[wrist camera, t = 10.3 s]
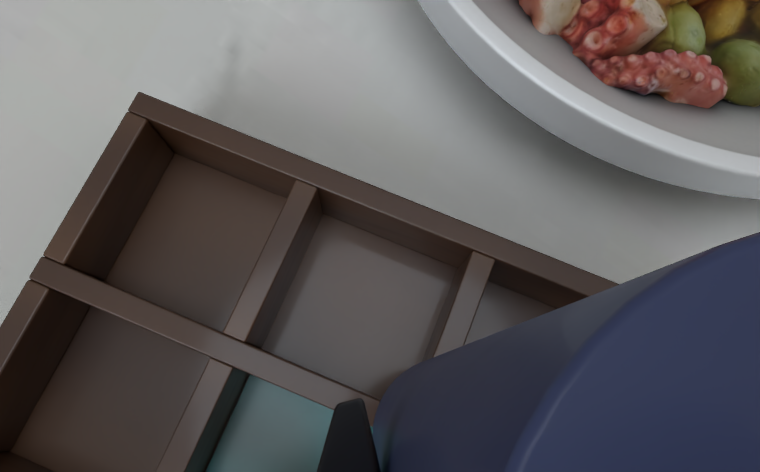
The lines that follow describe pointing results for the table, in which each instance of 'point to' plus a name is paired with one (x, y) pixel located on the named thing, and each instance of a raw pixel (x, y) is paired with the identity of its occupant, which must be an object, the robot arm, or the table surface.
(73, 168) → the table surface
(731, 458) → the navy round peg
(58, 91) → the table surface
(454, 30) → the bowl
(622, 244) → the table surface
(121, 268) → the grid
